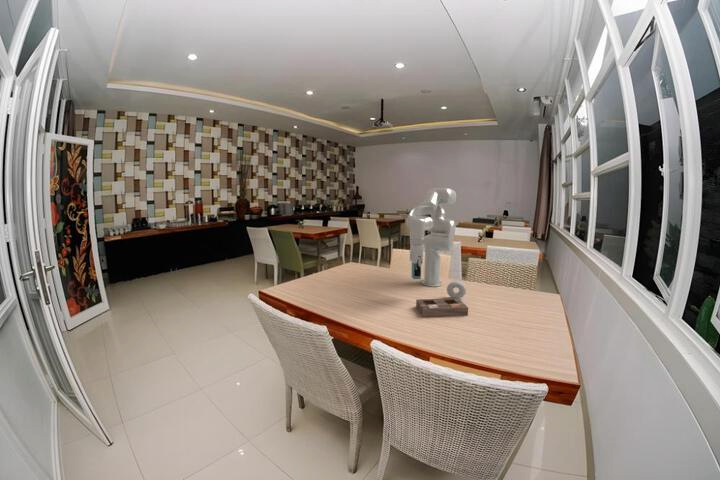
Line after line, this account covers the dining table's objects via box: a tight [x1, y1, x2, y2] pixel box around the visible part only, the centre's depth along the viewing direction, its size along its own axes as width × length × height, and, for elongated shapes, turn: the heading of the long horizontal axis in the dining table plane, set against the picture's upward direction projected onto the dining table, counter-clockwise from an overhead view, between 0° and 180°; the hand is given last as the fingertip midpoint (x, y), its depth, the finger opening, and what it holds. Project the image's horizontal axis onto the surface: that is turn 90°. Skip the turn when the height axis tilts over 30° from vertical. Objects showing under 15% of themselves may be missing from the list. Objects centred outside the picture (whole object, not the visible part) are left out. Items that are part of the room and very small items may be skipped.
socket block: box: [415, 297, 469, 318], centre depth 142 cm, size 12×22×4 cm, turn 95°
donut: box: [446, 280, 467, 300], centre depth 157 cm, size 10×4×10 cm, turn 69°
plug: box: [411, 262, 422, 280], centre depth 154 cm, size 4×4×8 cm
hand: (416, 274), depth 154 cm, fingers closed on plug, 4 cm apart
